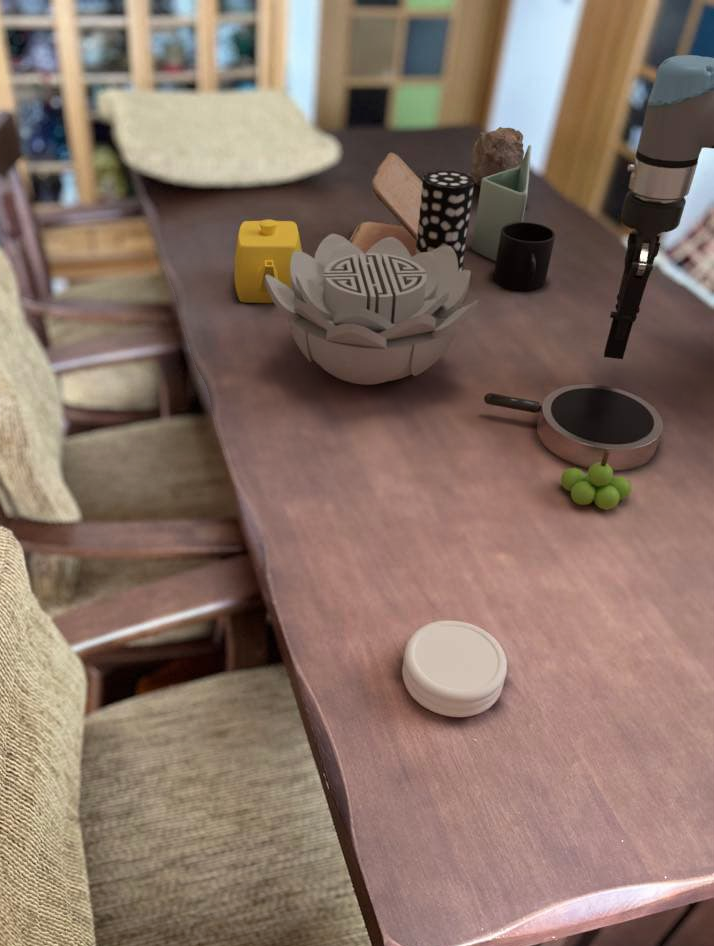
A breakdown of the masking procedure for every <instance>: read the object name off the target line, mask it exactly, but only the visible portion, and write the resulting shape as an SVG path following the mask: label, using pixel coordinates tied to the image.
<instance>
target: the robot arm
mask: <svg viewBox="0 0 714 946" xmlns="http://www.w3.org/2000/svg"><path fill="white" fill-rule="evenodd" d="M703 149H712V150H713V149H714V57H710V56H700V55H697V54H696V55H694V54H683V55H681V54H680V55H675V56H670V57H668V58H665V59H664V60H663V61H662V62H661V63H660V64H659V66H658V68H657V71H656V74H655V77H654V81H653V85H652V88H651V92H650V94H649V96H648V98H647V104H646V109H645V113H644V118H643V122H642V127H641V131H640V135H639V140H638V144H637V148H636V152H635V158H634V163H629V164H628V165H627V168H626V170H627V172H629V173H631V174H630V179H629V182H628V189H629V191H627V193H626V194H625V197H624V201H623V204H622V209H621V213H620V222H621V223H622V224H623V225H624V226H625V227H627V228H629V229H630V230H631V229H632V232H629V234H628V238H627V243H626V244H627V247H626V248H627V249H626V253H625V256H624V269H623V273H622V277H621V281H620V285H619V290H618V294H617V295H616V301H617V303H616V304H615V307H614V308H615V311H610V315H609V318H610V319H611V318H612V321H611V324H610V328H609V332H608V336H607V340H606V344H605V348H604V352H603V358H609V359H616V360H624V356H625V353H626V350H627V346H628V342H629V339H630V335H631V331H632V328H633V325H634V324H633V323H634V322H636V320H637V318H638V317H637V316H638V314H640V309H641V307H640V305H641V302H642V299H643V296H644V293H645V289H646V286H647V284H648V280H649V277H650V275H651V272H652V271H653V269H654V262H655V258H656V257H657V256H658V255H659V251H660V246H661V242H660V239H661V235H660V234H661V233H669V232H673V231H674V230H676V229H677V228H679V225H680V223H681V220H682V217H683V213H684V209H685V207H686V206H685V205H686V204H687V203H686V202H687V201H686V200H687V199H686V198H685V197H686V196H688V195H689V193H690V191H691V187H692V184H693V180H694V177H695V174H696V171H697V166H698V163H699V158H700V154H701V152H702V150H703Z"/></svg>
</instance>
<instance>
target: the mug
mask: <svg viewBox="0 0 714 946" xmlns="http://www.w3.org/2000/svg"><path fill="white" fill-rule="evenodd" d="M555 238H556V233H555V231H554V230H553V229H552V228H550V227H548V226H546V225H543V224H541V223H537V222H529V221H523V222H515V223H510V224H507V225H505V226H504V227H503V228H502V229H501V234H500V240H499V246H498V252H497V258H496V262H495V264H494V270H493V278H494V279H493V280H494V281H495V283H496V284H497V285H499V286H501V287H503V288H505V289H509V290H513V291H520V292H521V291H523V292H527V291H535V290H538V289H540V288H542V287H543V286H544V285H545V283H546V279H547V276H548V271H549V267H550V261H551V257H552V253H553V247H554V243H555Z"/></svg>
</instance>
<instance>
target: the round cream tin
mask: <svg viewBox="0 0 714 946" xmlns="http://www.w3.org/2000/svg"><path fill="white" fill-rule="evenodd" d="M507 672H508V662H507V657H506V654H505V652H504V649H503V648H502V646H501V644H500V643H499V642H498V640H497V639H496V638H495V637H493V635H492V634H490V633H489V632H488V631H486V630H484V629H483V628H481V627H478V626H477V625H475V624H471V623H469V622H465V621H461V620H460V621H459V620H449V619H448V620H446V619H445V620H438V621H433V622H431V623H428V624H424V625H423V626H421V627H420V628H418V629H417V630H416V631H414V632H413V634H412V635H411V636H410V637H409V639H408V641H407V642H406V645H405V648H404V654H403V662H402V668H401V674H402V679H403V683H404V686H405V688H406V690H407V692H408V693H409V694H410V696H411V697H412V698H413V700H415V701H416V702H417V703H418V704H419V705H421V706H422V707H423V708H425V709H427V710H428V711H430V712H433V713H435V714H437V715H441V716H445V717H451V718H466V717H467V718H468V717H472V716H476V715H479V714H482V713H484V712H486V711H487V710H488V709H490V708H491V707H492V706H493V705H494V704H495V703H496V702H497V701H498V699H500V696H501V694H502V691H503V687H504V683H505V680H506V676H507Z"/></svg>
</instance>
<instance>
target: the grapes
mask: <svg viewBox="0 0 714 946" xmlns="http://www.w3.org/2000/svg"><path fill="white" fill-rule="evenodd" d="M609 453H610V452H609V450H605V452H604V455H603V458H602V461H601V462H597V463H595V464H593V465H592V466H591V467H590V468H588V470H587V475H585V473H584V471H582V470H581V469H580V468H577V467H570V468H567V469H566V470H564V472H562V474H561V477H560V483H561V486H562V488H563V489H565V491H568V492H570V498H571V499H572V501H573V502H574V503H576V504H577V505H579V506H587V505H590V504H592V503H593V502H594V504H595V505H596V506H597V507H598V508H599V509H601V510H606V511H607V510H608V511H609V510H612V509H614V508H615V507H616V506H617V505H618V504H619V502H620V501H623V500H625V499H627V498H629V496H630V494H631V493H632V488H633V487H632V486H633V485H632V483H631V481H630V480H629V479H628V478H627V477H625V476H621V475H620V476H619V475H618V476H614V471H613V470H612V468H611V467H610V466H609V465H608V464H607V460H608V456H609Z"/></svg>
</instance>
